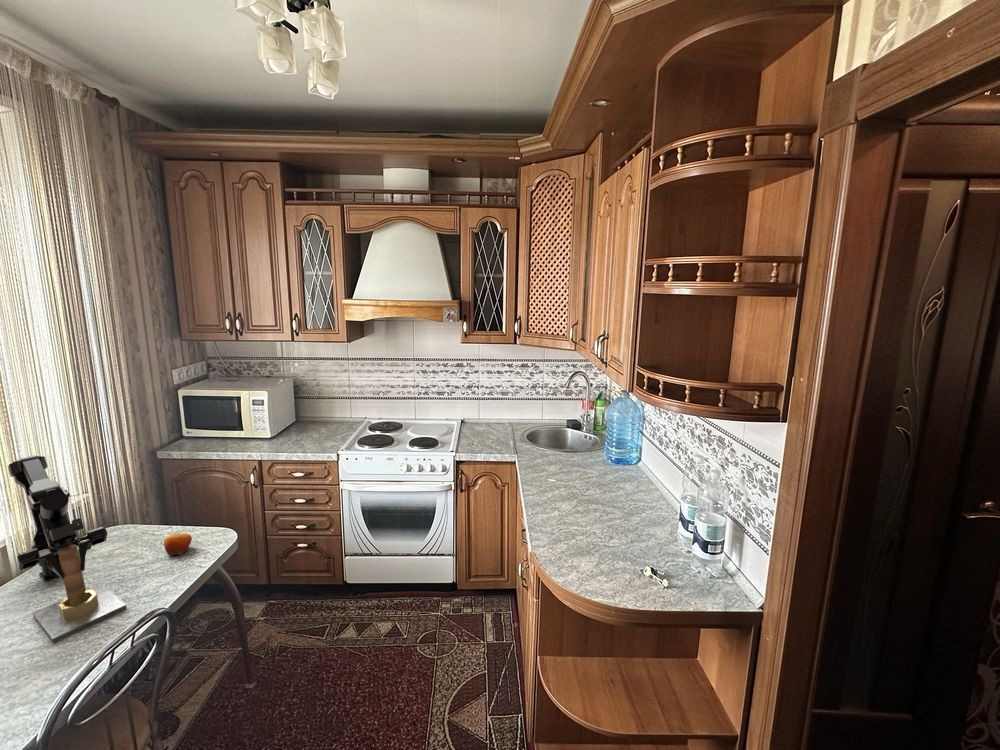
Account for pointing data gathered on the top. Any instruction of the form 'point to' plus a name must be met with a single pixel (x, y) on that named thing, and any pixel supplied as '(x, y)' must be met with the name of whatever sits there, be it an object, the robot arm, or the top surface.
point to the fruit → (177, 543)
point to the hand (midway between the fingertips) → (73, 574)
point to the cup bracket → (78, 612)
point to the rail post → (71, 571)
